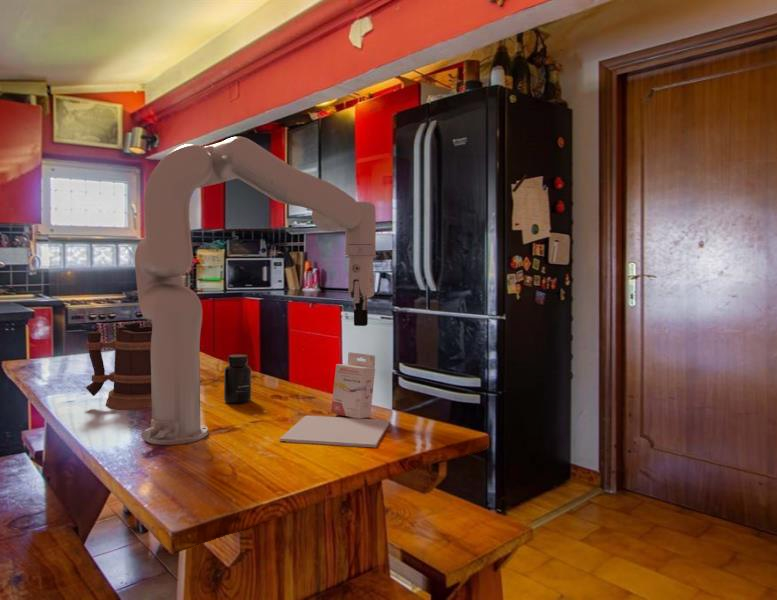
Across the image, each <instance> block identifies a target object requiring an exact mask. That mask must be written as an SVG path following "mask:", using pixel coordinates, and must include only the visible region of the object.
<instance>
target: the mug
mask: <svg viewBox="0 0 777 600" xmlns="http://www.w3.org/2000/svg"><path fill="white" fill-rule="evenodd" d="M86 336H87V337H86V338H87V340H88V341H87V342H86V343H85V347H86V350H88V354H89V359H90V362H91V365H92V368H93V375H91V383H90V384H88V385H87V386H86V388H85V389H86V390H87V391H88V392H89V393H90V395H92V396H93V397H95V396H96V395H97V394H98V393H99V392H100V390H101V389H102V388H103V385H104V383H105V382H107V381H110V382H112V383H113V389H111V390H110V391H108V393H107V394H108V395H107V396H108V397H107V399H106V401H105V406H106V407H108V408H111V409H115V410H120V411H121V410H123V411H142V410H152V399H151V336H152V325H145V326H141V323H140V322H139V321H136V322H134V321H133V322H127V323H124V324H123V326H122V325H121V326H120V325H119V326H118V325H117V326H116V329H115V338H114V339H112V340H110V341H108V342H107V341H106V342H103V341H101V338H102V332H100V331H89V332H87V333H86ZM104 348H111V349H113V350H114V367H113V368H114V371H111V372H109V374H105V372H106V370H105V365H104V360H103V355H102V349H104Z"/></svg>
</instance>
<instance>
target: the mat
mask: <svg viewBox="0 0 777 600" xmlns="http://www.w3.org/2000/svg"><path fill="white" fill-rule="evenodd" d="M390 424H391V420H390V419H375V418H374V419H373V418H360V419H358V418H353V417H341V416H323V415H304V416H303V417H302V418H301V419H300V420H299V421H298V422H296V423H295V424H294V425H293V426H292V427H291V428H290V429H288V430H287V431H286V432H285V433H284V434H283V435H282V436H281V437H279V440H278V441H279V442H281V441H286V442H285V443H295V444H296V443H299V444H312V443H313V444H314V445H315V444H316V445H327V446H328V445H330V446H331V445H333V446H346V447H347V446H348V447H359V448H361V447H362V448H377V446H378V444H379V442H380V441H381V439H382V437H383V436H384V435H385V432H386V430H387V429H388V428H389V425H390ZM313 444H312V445H313Z"/></svg>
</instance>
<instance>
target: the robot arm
mask: <svg viewBox="0 0 777 600" xmlns="http://www.w3.org/2000/svg"><path fill="white" fill-rule="evenodd" d="M236 179H238V180H240V181H242V182H243V183H245V184H247V185H249V186H250V187H252V188H254V189H255V190H257V191H258V192H260V193H262V194H264V195H265V196H267V197H269V198H270V199H272V200H273V201H275V202H278V203H280V204H285V205H290V206H295V207H296V206H297V207H301V208H305V209H308V210H311V221H312V222H313V224H314V225H315V227H316V228H317V229H319V230H321V231H324V232H337V231H338V232H339V231H345V233H344V234H345V235H344V236H345V237H344V238H345V239H344V240H345V247H344V249H345V250H344V253H345V255H344V256H345V258H346V259H348V260H349V261H348V282H347V283H348V295H349V297H350V298H351V299H353V325H354V326H355V327H366V326H368V323H369V321H368V320H369V319H368V316H369V313H368V312H369V311H368V303H369V301H368V299H369V298H372V297H374V296H375V274H374V273H375V272H374V270H375V269H374V268H375V267H374V261H373V260H374V259H376V257H377V256H376V254H377V253H376V251H377V250H376V249H377V248H376V246H377V245H376V243H377V242H376V239H377V238H376V237H377V236H376V234H377V233H376V228H377V227H376V221H377V218H376V213H377V211H376V206H375V204H374V203H373V202H371V201H356V199H355V198H354V197H353V196H351V195H349V194H348V193H347V192H345V191H344V190H342V189H341V188H339V187H337V186H336V185H334V184H332V183H330V182H328V181H326V180H324V179H322V178H319V177H317V176H314V175H311V174H309V173H307V172H304V171H302V170H298V169H296V168H295V167H293V166H292V165H290V164H288V163H287V162H285V161H284V160H282V159H281V158H280V157H277V156H276V155H274V154H273V153H272V152H270V151H268V150H267V149H266V148H264V147H263V146H261V145H260V144H257V143H256V142H255V141H253V140H251V139H249V138H247V137H244V136H233V137H230V138H227V139H225V140H223V141H221V142H217V143H214V144H210V145H207V146H206V145H205V146H201V145H199V144H193V143H189V144H184V145H181V146H178V147H177V148H175V149H173V150H171V151H170V152H168V153H166V154H165V155H164V156H163V157H162V158H161V159H160V161H159V162H158V163H157V165H156V166H155V167H154V169H153V170H152V171H151V174H150V175H149V177H148V180H147V183H146V184H145V185H146V186H145V190H144V198H143V200H144V201H143V207H144V208H143V210H144V211H143V212H144V213H143V214H144V227H145V228H144V229H145V231H144V232H145V236H144V237H143V238H142V239H140V241H139V242H138V244H137V246H136V249H135V253H134V267H135V279H136V290H137V298H138V304H139V305H138V306H139V310H140V313H141V314H142V316H143V318H144V319H145V320H146V321H147V322H148V323H150V324H151V326H152V336H151V399H152V409H151V420H150V427H149V428H147V429H145V430H143V431H142V432H141V438H142V439H143V440H144V441H145V442H147V443H150V444H152V445H160V446H173V445H175V446H176V445H183V444H190V443H193V442H196V441H200V440H202V439H204V438H205V437H208V435H209V428H208V426H207V425H205V424H202V423H201V366H200V365H201V361H200V360H201V359H200V355H201V354H200V351H201V350H200V349H201V346H200V345H201V343H200V341H201V329H202V323H203V306H202V302H201V300H200V298H199V296H198V295H197V293H195V291H194V290H193V289H191V288H189V287H187V286H184V285H183V275H184V274H186V273H187V272H188V271H189V270H190V269H191V268H192V265H193V260H194V254H193V246H192V234H191V224H190V203H191V198H192V195H193V194H194V192H195V191H196V189H199V188H203V187H209V186H213V185H217V184H222V183H224V182H227V181H232V180H236Z"/></svg>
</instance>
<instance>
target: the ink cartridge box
mask: <svg viewBox="0 0 777 600" xmlns="http://www.w3.org/2000/svg"><path fill="white" fill-rule="evenodd" d="M361 358H362V359H363V360H365V361H362V360H357V359H361ZM375 366H376V355H374V354H368V353H367V354H366V353H359V352H348V356H347V364H340V363H338V364H337V363H336V364H335V371H334V383H333V391H332V398H331V399H332V401H331V410H330V411H331V412H330V413H331V414H334V415H339V416H343V417H344V416H345V417H347V418H358V419H369V418H371V413H372V405H373V404H372V403H373V394H374V393H373V392H374V385H375V384H374V382H375V373H376V368H375Z"/></svg>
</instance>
